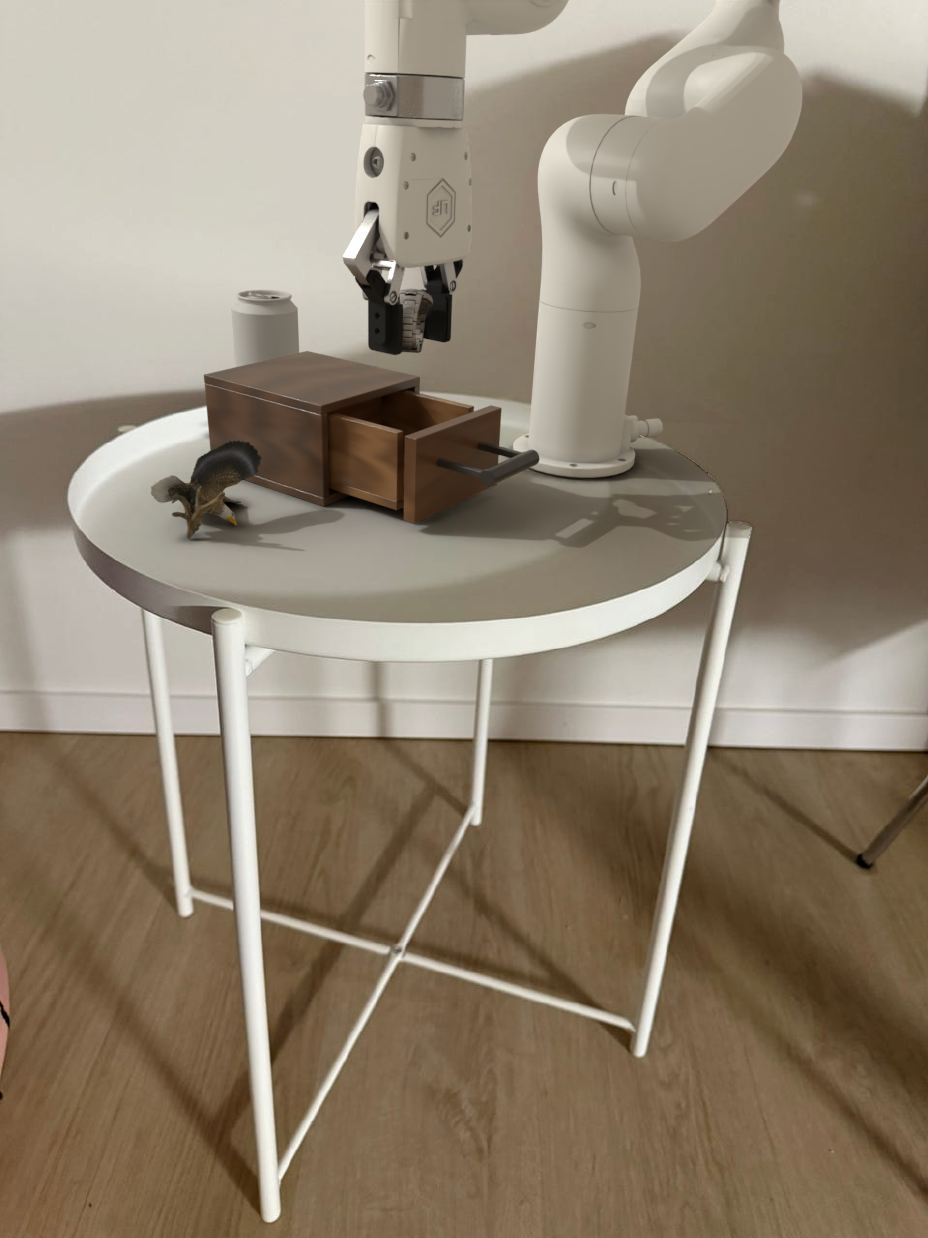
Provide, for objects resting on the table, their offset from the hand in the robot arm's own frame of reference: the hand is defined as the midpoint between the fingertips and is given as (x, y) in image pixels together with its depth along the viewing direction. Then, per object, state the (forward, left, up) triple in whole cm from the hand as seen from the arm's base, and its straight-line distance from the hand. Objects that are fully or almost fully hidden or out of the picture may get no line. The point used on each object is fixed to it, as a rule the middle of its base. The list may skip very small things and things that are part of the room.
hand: (410, 343), depth 81 cm
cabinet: (+6, -10, -14) cm, 18 cm away
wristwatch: (0, 0, -1) cm, 1 cm away
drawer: (-1, +2, -13) cm, 13 cm away
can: (+4, -36, -14) cm, 39 cm away
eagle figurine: (+18, 0, -14) cm, 23 cm away
